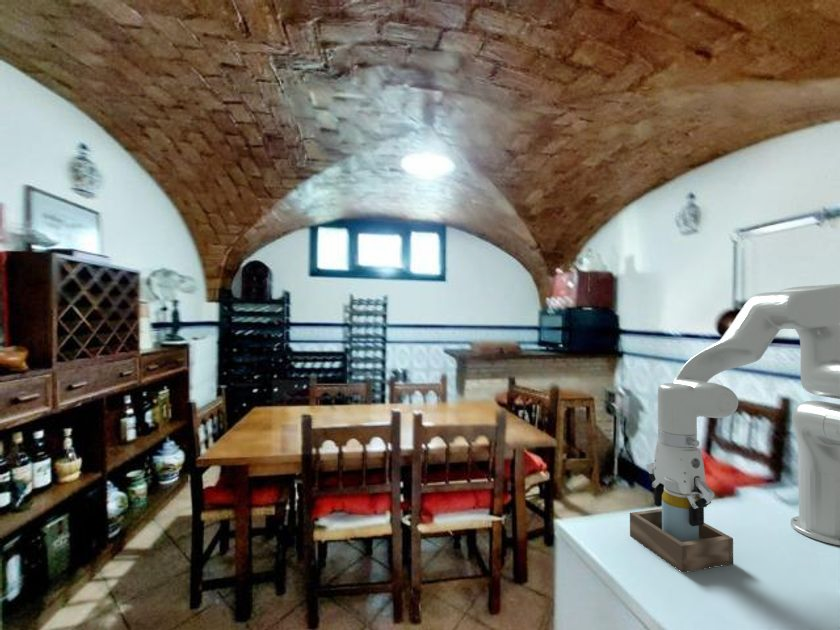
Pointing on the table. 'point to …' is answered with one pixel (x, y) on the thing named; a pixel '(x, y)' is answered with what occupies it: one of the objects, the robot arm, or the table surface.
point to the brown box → (681, 543)
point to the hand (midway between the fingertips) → (678, 514)
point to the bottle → (677, 513)
